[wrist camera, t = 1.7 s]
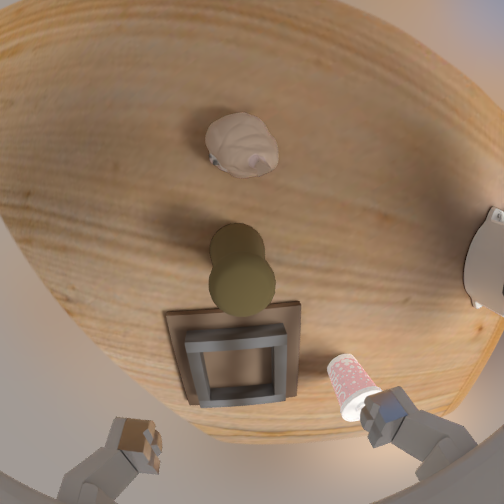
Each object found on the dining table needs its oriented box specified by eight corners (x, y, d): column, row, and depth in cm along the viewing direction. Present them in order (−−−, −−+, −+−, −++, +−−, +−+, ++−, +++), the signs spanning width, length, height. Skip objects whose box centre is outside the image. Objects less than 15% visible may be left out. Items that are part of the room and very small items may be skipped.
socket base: (299, 301, 33) (306, 315, 29) (295, 391, 37) (300, 407, 34) (167, 311, 31) (161, 327, 28) (190, 400, 36) (188, 417, 33)
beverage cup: (335, 345, 35) (377, 417, 22) (367, 353, 37) (410, 417, 23) (314, 377, 37) (344, 450, 24) (346, 382, 38) (380, 447, 25)
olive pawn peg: (223, 284, 31) (223, 340, 21) (200, 237, 29) (186, 274, 19) (272, 263, 31) (296, 310, 20) (251, 214, 29) (266, 239, 19)
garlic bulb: (212, 182, 28) (207, 186, 20) (204, 123, 26) (196, 106, 18) (275, 173, 28) (293, 175, 20) (267, 115, 26) (283, 96, 18)
